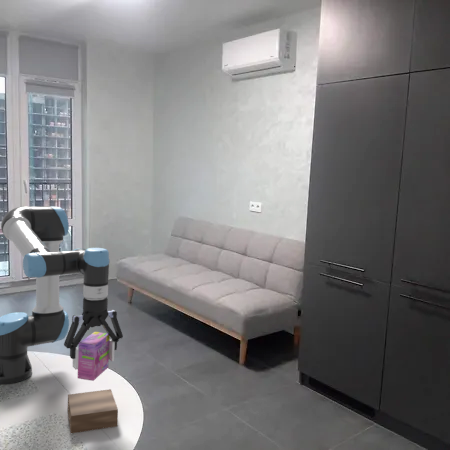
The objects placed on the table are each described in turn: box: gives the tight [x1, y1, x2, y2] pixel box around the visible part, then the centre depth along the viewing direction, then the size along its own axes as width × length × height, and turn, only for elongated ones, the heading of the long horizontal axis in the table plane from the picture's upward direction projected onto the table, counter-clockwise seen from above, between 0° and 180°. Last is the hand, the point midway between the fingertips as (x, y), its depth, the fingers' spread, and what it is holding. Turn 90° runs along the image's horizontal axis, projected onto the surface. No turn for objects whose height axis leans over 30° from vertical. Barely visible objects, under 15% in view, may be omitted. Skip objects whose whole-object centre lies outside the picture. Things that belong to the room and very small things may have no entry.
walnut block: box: [67, 388, 119, 434], centre depth 148 cm, size 14×14×6 cm
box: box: [77, 331, 111, 382], centre depth 146 cm, size 10×6×12 cm, turn 168°
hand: (93, 363), depth 146 cm, fingers closed on box, 11 cm apart
